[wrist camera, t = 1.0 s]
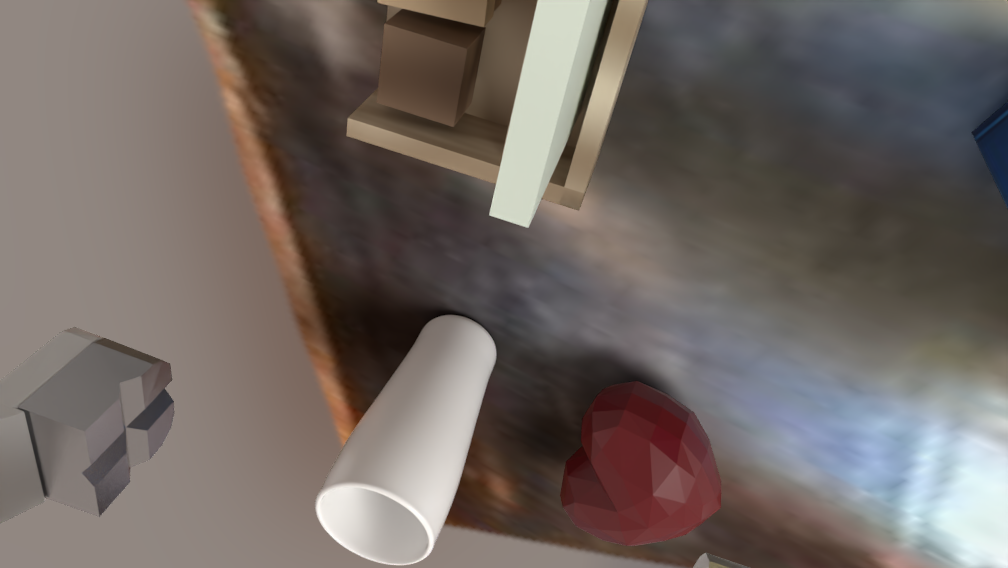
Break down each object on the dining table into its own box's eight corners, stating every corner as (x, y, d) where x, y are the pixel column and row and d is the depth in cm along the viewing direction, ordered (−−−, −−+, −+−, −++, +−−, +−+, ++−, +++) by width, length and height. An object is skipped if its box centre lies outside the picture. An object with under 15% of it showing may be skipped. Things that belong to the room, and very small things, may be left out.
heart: (767, 403, 46) (615, 339, 48) (747, 501, 41) (575, 424, 43) (700, 512, 54) (572, 453, 56) (676, 606, 49) (534, 537, 50)
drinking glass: (519, 380, 52) (449, 573, 40) (429, 379, 54) (338, 561, 43) (496, 300, 48) (412, 486, 37) (400, 302, 51) (292, 479, 39)
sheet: (619, -169, 31) (565, -121, 22) (658, -158, 30) (618, -106, 22) (549, 102, 38) (489, 215, 30) (580, 111, 38) (528, 227, 30)
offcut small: (408, 3, 37) (384, 23, 35) (485, 27, 37) (467, 48, 34) (399, 79, 40) (376, 102, 37) (471, 102, 39) (453, 127, 37)
